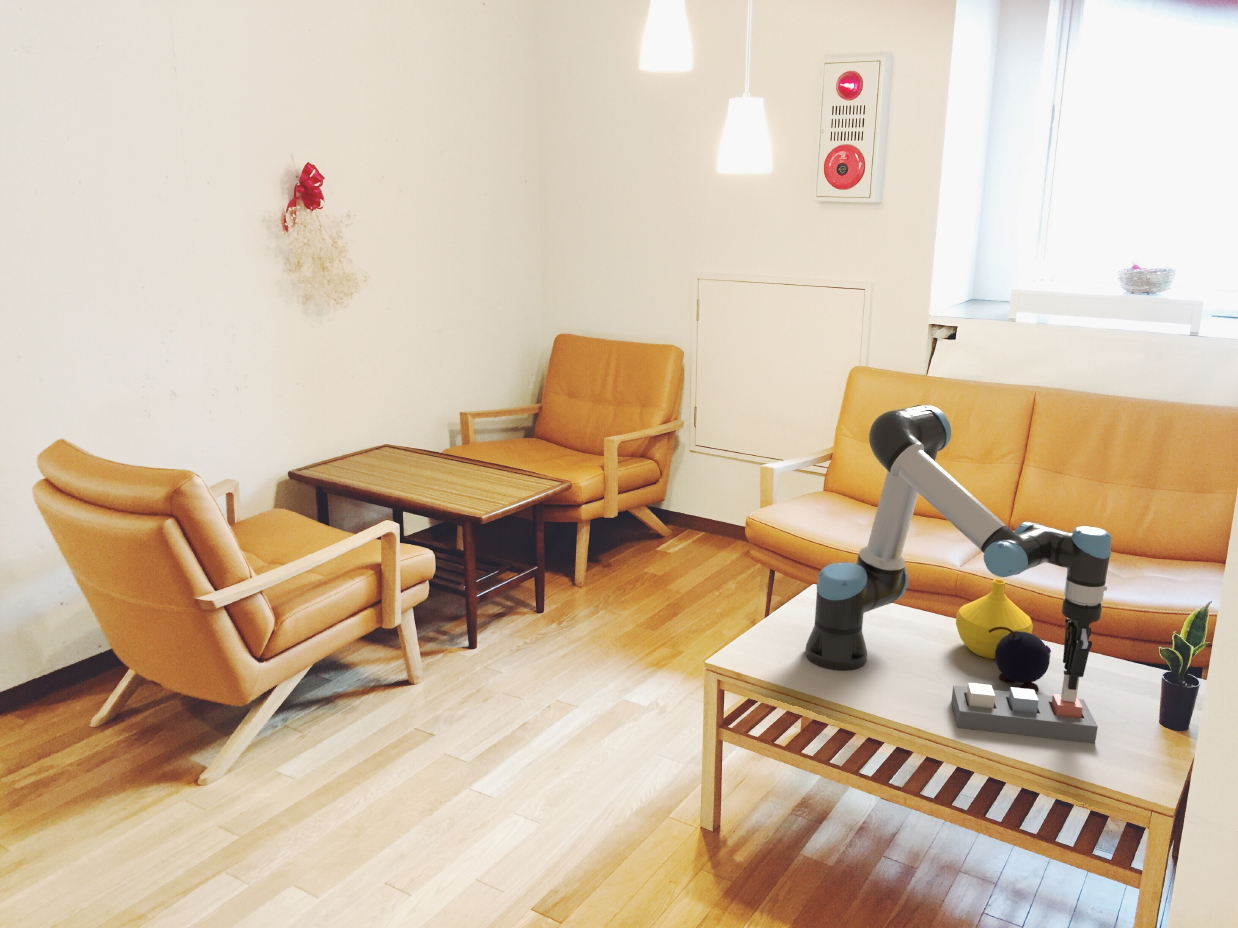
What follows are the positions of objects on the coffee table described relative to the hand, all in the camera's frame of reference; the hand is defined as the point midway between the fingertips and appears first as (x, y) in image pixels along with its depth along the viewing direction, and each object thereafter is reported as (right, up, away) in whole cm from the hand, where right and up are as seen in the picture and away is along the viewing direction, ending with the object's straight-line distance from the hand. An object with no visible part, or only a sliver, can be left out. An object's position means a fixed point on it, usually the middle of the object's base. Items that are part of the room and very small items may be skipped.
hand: (1068, 699), depth 214 cm
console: (-9, -6, +4) cm, 11 cm away
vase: (-3, +3, +38) cm, 38 cm away
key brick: (0, -4, +1) cm, 4 cm away
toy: (-3, -1, +20) cm, 21 cm away
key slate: (-9, -3, +3) cm, 10 cm away
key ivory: (-18, -2, +5) cm, 18 cm away
